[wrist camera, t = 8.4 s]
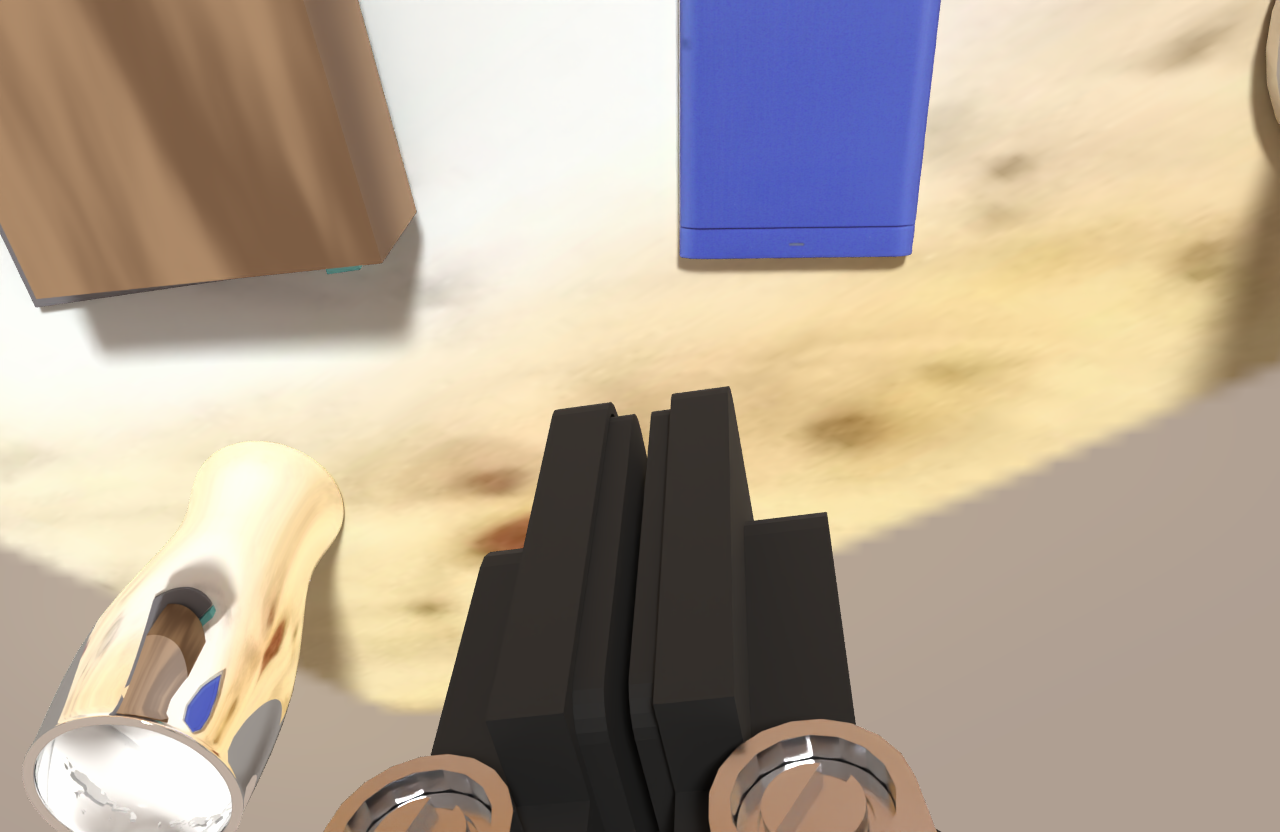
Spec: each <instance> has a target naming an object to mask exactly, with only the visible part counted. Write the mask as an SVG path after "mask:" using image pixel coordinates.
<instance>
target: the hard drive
mask: <svg viewBox="0 0 1280 832" xmlns="http://www.w3.org/2000/svg"><path fill="white" fill-rule="evenodd" d="M940 3H941V0H679V167H680V257H682V258H689V259H746V258H756V259H757V258H815V257H897V256H906V255H910V254H911V253H912V244H913V238H914V228H915V220H916V212H917V203H918V193H919V184H920V176H921V168H922V159H923V150H924V140H925V132H926V123H927V114H928V106H929V98H930V89H931V81H932V73H933V64H934V55H935V48H936V37H937V28H938V20H939V11H940Z"/></svg>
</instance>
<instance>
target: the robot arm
mask: <svg viewBox="0 0 1280 832" xmlns="http://www.w3.org/2000/svg"><path fill="white" fill-rule="evenodd" d="M1266 72H1267V87H1268V91H1269V95H1270V99H1271V103H1272V107H1273V110H1274V114H1275V117H1276V119H1277V121H1278V123H1279V125H1280V0H1276V2H1275V5H1274V7H1273V10H1272V15H1271V21H1270V27H1269V33H1268V39H1267V45H1266ZM324 832H940V831H938V830H937V829H936V828H935V825H934V823H933V820H932V818H931V815H930V812H929V810H928V808H927V805H926V802H925V799H924V797H923V794H922V792H921V789H920V786H919V784H918V781H917V779H916V776H915V775H914V773H913V771H912V770H911V768H910V766H909V765H908V763H907V762H906V760H905V758H904V757H903V755H902V753H900V752H899V751H898V750H897V749H895V748H894V747H893V746H892V745H891V744H889V743H888V742H887V741H886V740H885V739H883V738H882V737H881V736H880V735H878V734H876V733H873V732H871V731H868V730H866V729H864V728H861V727H859V726H857V725H856V723H855V716H854V708H853V701H852V694H851V686H850V679H849V671H848V664H847V657H846V650H845V642H844V635H843V628H842V620H841V612H840V605H839V598H838V591H837V583H836V576H835V569H834V561H833V554H832V546H831V539H830V531H829V524H828V517H827V512H823V513H815V514H806V515H798V516H790V517H781V518H773V519H764V520H756V521H754V519H753V513H752V507H751V501H750V496H749V490H748V484H747V478H746V473H745V467H744V461H743V455H742V449H741V444H740V438H739V432H738V426H737V421H736V415H735V409H734V404H733V398H732V394H731V390H730V387H729V386H727V387H720V388H712V389H705V390H697V391H690V392H683V393H675V394H672V397H671V409H669V410H662V411H655V412H652V414H651V422H650V433H649V445H648V457H647V455H646V451H645V446H644V442H643V437H642V433H641V429H640V425H639V421H638V419H637V416H636V415H635V414H632V415H625V416H618V415H617V412H616V409H615V407H614V405H613V404H612V402H609V403H602V404H595V405H587V406H580V407H573V408H565V409H558V410H555V411H554V413H553V415H552V419H551V424H550V429H549V433H548V438H547V442H546V447H545V451H544V456H543V460H542V465H541V470H540V474H539V479H538V483H537V488H536V492H535V497H534V502H533V506H532V511H531V515H530V520H529V524H528V529H527V533H526V538H525V543H524V547H523V548H521V549H513V550H505V551H496V552H490V553H488V554H487V555H486V556H485V557H484V559H483V562H482V564H481V567H480V570H479V574H478V577H477V581H476V585H475V589H474V593H473V596H472V600H471V604H470V608H469V612H468V615H467V619H466V623H465V627H464V631H463V634H462V638H461V642H460V646H459V650H458V653H457V657H456V661H455V665H454V669H453V672H452V676H451V680H450V684H449V688H448V691H447V695H446V699H445V703H444V707H443V710H442V714H441V718H440V722H439V726H438V730H437V733H436V738H435V741H434V745H433V749H432V753H431V756H424V757H418V758H415V759H412V760H409V761H406V762H403V763H401V764H398V765H395V766H392V767H390V768H388V769H387V770H385V771H383V772H382V773H380V774H378V775H376V776H375V777H373V778H372V779H370V780H368V781H367V782H365V783H364V784H362V786H360V787H359V788H358V789H357V790H356V791H355V792H354V793H353V794H352V795H351V796H349V797H348V798H347V799H346V800H345V801H344V802H343V803H342V804H341V806H340V807H339V808H338V810H337V811H336V813H335V815H334V816H333V817H332V819H331V820H330V822H329V823H328V825H327V826H326V828H325V830H324Z"/></svg>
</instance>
